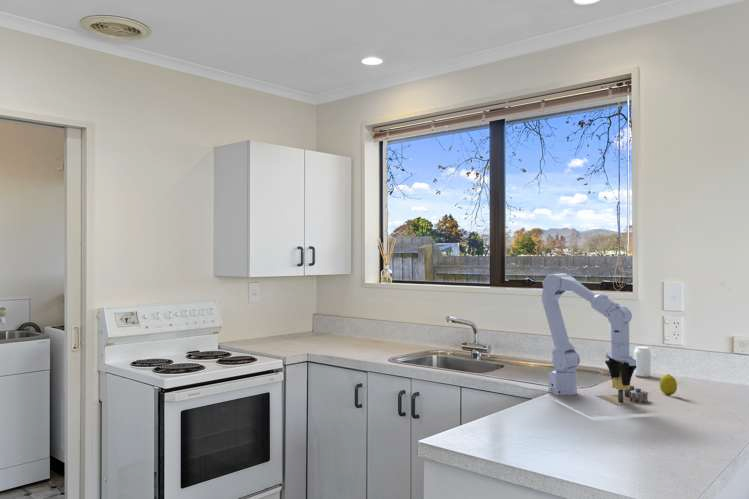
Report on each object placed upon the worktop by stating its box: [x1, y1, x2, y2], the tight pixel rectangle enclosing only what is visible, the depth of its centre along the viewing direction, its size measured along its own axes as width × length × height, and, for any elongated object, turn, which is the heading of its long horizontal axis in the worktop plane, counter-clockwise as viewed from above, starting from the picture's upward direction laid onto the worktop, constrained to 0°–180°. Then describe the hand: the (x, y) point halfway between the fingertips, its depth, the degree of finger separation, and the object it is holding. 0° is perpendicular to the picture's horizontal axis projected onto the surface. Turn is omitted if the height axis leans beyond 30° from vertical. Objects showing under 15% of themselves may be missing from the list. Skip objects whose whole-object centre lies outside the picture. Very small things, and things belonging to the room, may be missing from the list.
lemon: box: [659, 373, 678, 397], centre depth 213 cm, size 6×6×8 cm
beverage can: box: [633, 345, 652, 378], centre depth 247 cm, size 6×6×12 cm
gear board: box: [596, 384, 653, 406], centre depth 206 cm, size 14×13×5 cm
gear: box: [611, 377, 631, 391], centre depth 203 cm, size 5×5×3 cm
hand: (620, 383), depth 203 cm, fingers closed on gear, 5 cm apart
